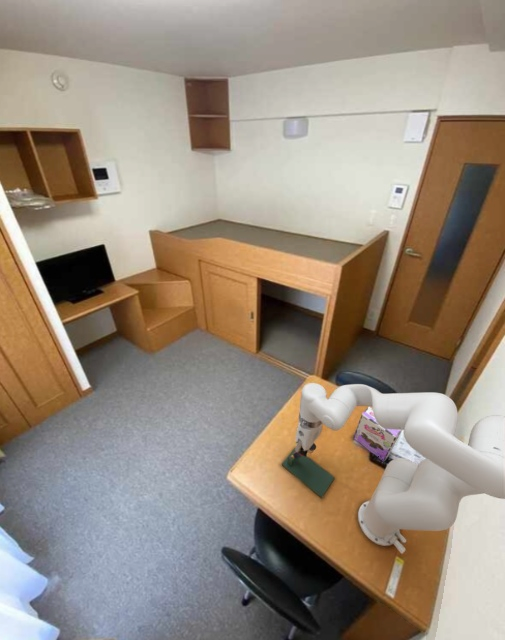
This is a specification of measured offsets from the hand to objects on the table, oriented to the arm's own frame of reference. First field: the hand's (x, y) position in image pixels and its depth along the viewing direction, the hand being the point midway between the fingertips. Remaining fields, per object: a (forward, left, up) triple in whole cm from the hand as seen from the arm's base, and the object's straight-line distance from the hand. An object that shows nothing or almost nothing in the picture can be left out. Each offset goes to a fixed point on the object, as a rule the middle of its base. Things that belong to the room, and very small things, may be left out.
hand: (305, 449), depth 100 cm
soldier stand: (-2, -1, -12) cm, 12 cm away
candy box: (-8, -30, -12) cm, 33 cm away
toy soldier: (-1, 0, -2) cm, 2 cm away
